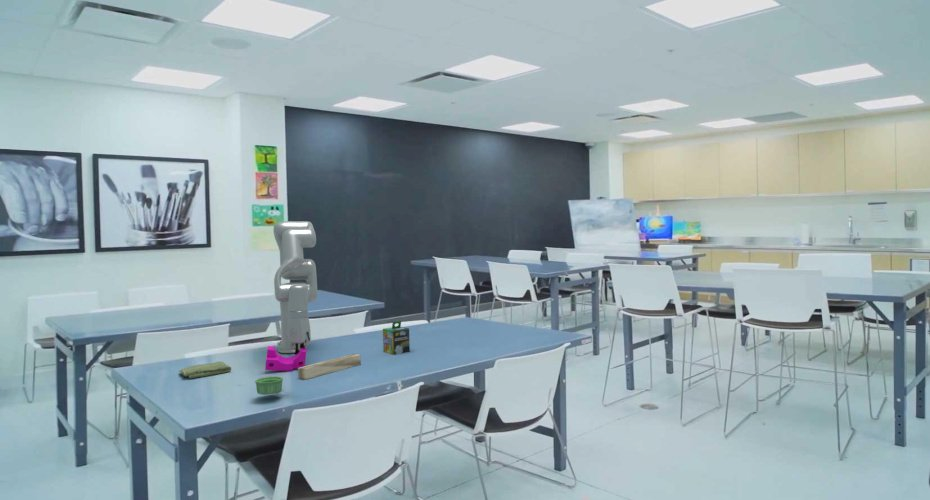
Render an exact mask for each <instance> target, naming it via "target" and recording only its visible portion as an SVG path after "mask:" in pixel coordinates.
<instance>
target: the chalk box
mask: <svg viewBox="0 0 930 500" xmlns="http://www.w3.org/2000/svg"><path fill="white" fill-rule="evenodd" d="M396 324H397V326H396ZM401 325H402V321H401V320H395V321H392V326H391V327H386V328H382V347H383V348H382V349H383V350H382V351H383V353H387V354H390V355H393V356H395V355H401V354H405V353H409V352H410V349H411V347H410V343H411V342H410V328H409V327H404V326H401Z"/></svg>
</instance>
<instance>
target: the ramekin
mask: <svg viewBox="0 0 930 500" xmlns="http://www.w3.org/2000/svg"><path fill="white" fill-rule="evenodd" d="M283 379H284V378H283V377H282V376H278V375H277V376H276V375H273V376H271V375H270V376H264V377H260V378H256V379H255V380H254V382H255V386H256V392H257V394H259V395H262V396H265V395H266V396H267V395H276V394H278V393H281V392H282V390H283Z"/></svg>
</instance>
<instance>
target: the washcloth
mask: <svg viewBox="0 0 930 500" xmlns="http://www.w3.org/2000/svg"><path fill="white" fill-rule="evenodd" d="M230 371H232V366H230V365H228V364H226V362H223V361H220V360H219V361H215V362H210V363H203V364H197V365H196V364H195V365H190V366H188V367H184V368H181V369H179V371H178V372H179V373H180V375H182V376H183V377H186V376H187V377H186V378H188V379H195V378H202V377H206V376H207V377H208V376H213V375H214V376H215V375H219V374H225V373H229V372H230Z"/></svg>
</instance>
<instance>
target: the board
mask: <svg viewBox="0 0 930 500" xmlns="http://www.w3.org/2000/svg"><path fill="white" fill-rule="evenodd" d="M361 357H362V356H361V354H358V353H357V354H356V353H351V354H349V355H345V356H344V355H343V356H340V357H336V358H333V359H328V360H323V361H319V362H317V363H312V364H308V365H305V366H304V367H300V368H297V379H298V380H309V379H314V378H316V377H320V376H324V375H328V374H331V373H333V372H338V371H342V370H346V369H350V368H352V367H353V368H354V367H356V366H360V365H361V364H362V363H361V361H362V360H361V359H362V358H361Z"/></svg>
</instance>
